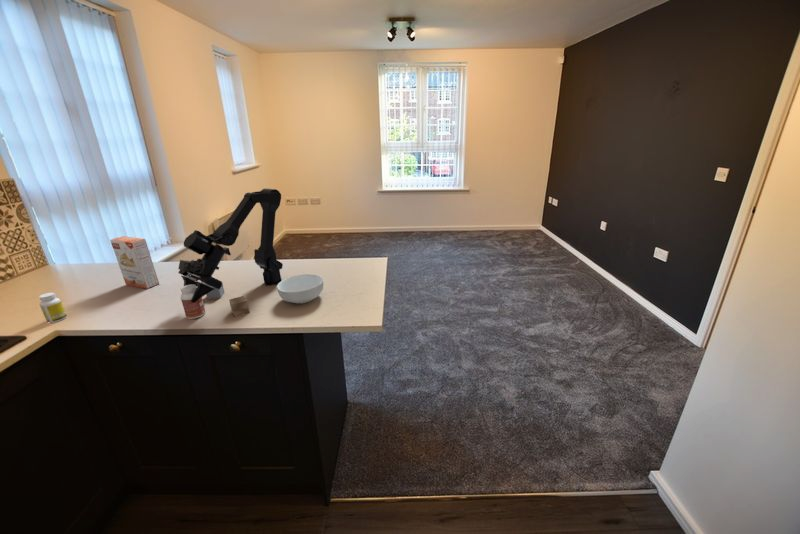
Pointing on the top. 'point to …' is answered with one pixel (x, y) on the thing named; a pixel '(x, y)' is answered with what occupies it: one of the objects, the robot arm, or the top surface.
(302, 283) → the cereal bowl
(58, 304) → the supplement bottle
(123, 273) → the cracker box
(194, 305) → the pill bottle
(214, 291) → the slate-grey cube
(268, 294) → the top surface
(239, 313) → the walnut cube
